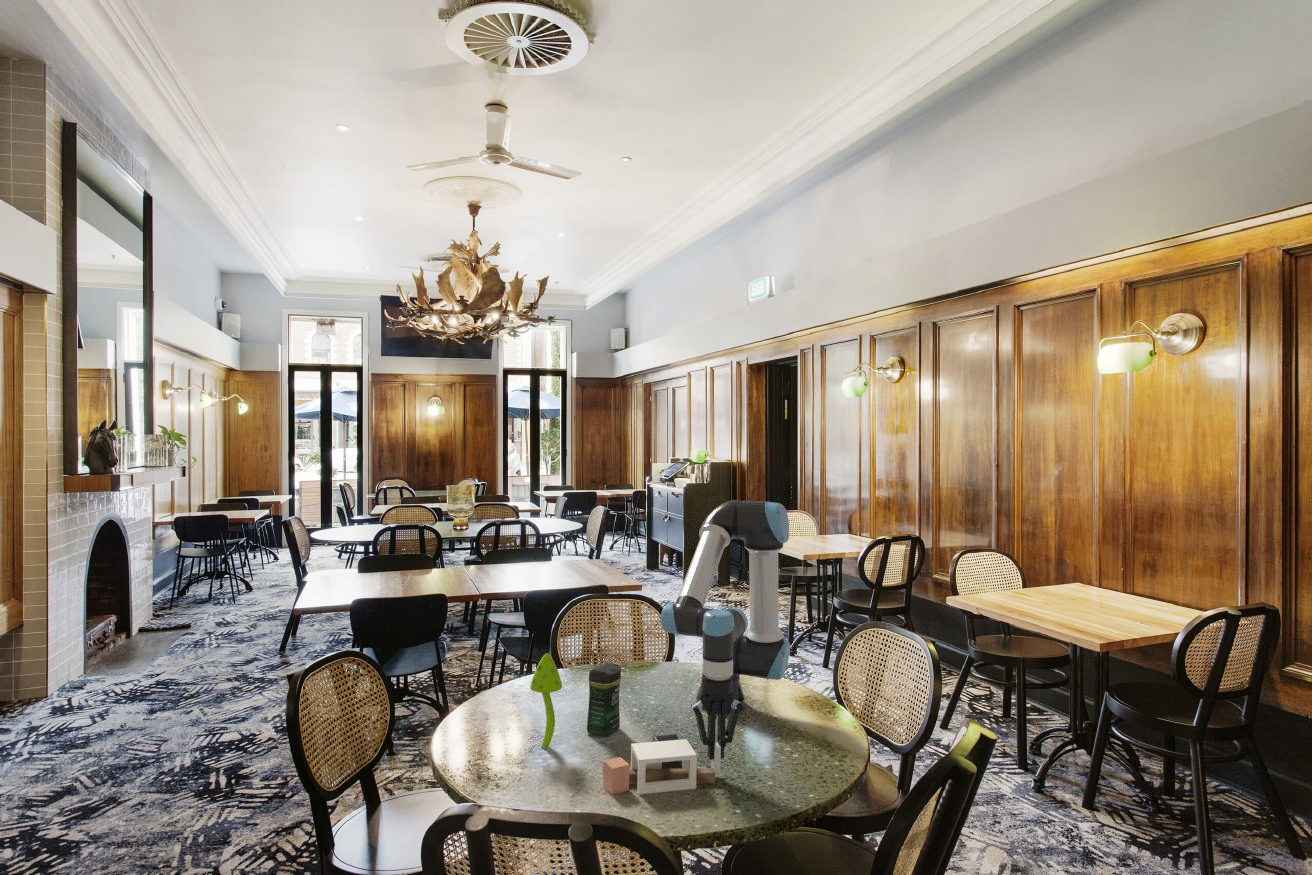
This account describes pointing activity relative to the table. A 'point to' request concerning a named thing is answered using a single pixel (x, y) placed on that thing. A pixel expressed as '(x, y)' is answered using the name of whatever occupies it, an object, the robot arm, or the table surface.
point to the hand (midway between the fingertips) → (715, 771)
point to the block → (616, 775)
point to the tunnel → (664, 762)
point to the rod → (673, 775)
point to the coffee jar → (604, 700)
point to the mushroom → (547, 691)
